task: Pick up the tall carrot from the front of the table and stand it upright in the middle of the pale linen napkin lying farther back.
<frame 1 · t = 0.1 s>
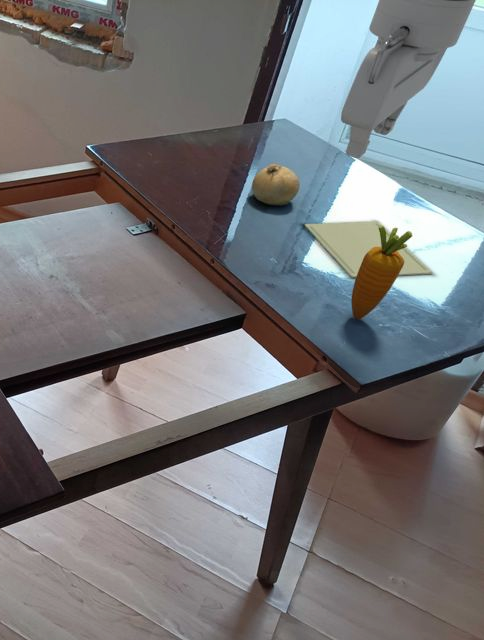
hand: (368, 143, 82), 26 cm above the table, tool pointing down, fingers open, 8 cm apart
onion: (270, 201, 125), on the table
carrot: (355, 320, 99), on the table
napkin: (365, 248, 114), on the table
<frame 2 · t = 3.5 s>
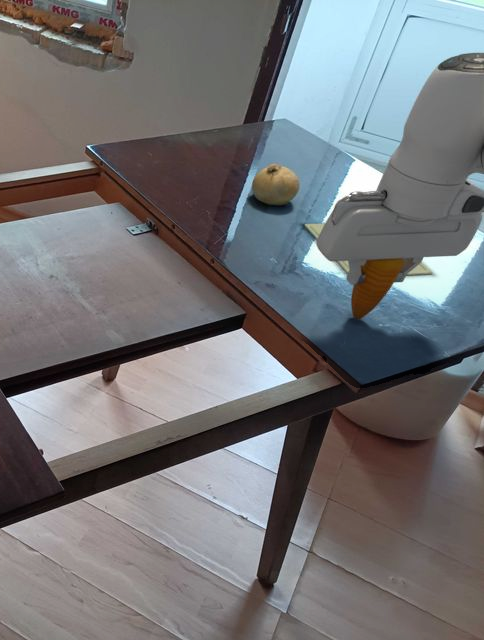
hand: (374, 281, 95), 7 cm above the table, tool pointing down, fingers closed on carrot, 5 cm apart
carrot: (355, 320, 99), on the table, touching gripper
everything else where it was.
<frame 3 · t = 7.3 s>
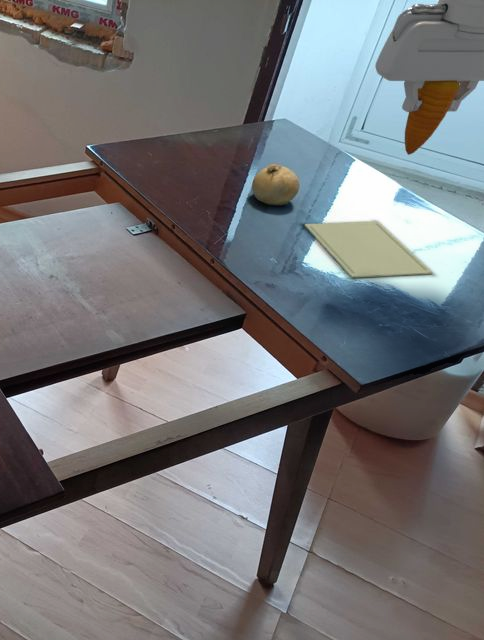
hand: (428, 110, 97), 24 cm above the table, tool pointing down, fingers closed on carrot, 5 cm apart
carrot: (408, 155, 102), point 17 cm above the table, touching gripper
everything else where it was.
when the fingers open (7 cm above the table, at t = 11.5 s): carrot stays where it is, resting on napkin.
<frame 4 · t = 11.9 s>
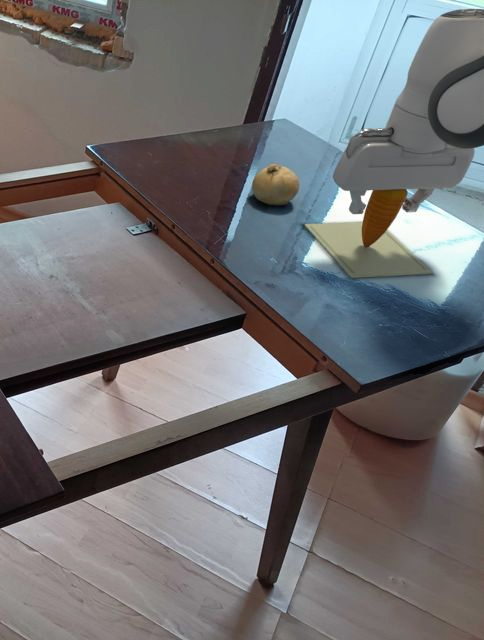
hand: (381, 211, 110), 7 cm above the table, tool pointing down, fingers open, 8 cm apart
carrot: (365, 248, 114), resting on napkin
everything else where it was.
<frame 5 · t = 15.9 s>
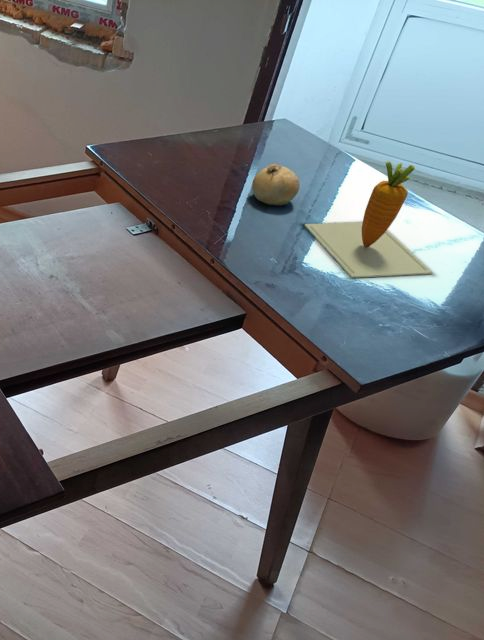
nothing on the table moved.
at the end: carrot inside the target area on the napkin (0.0 cm from its centre), point 0.1 cm above the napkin's base; carrot tilted 0°; the gripper is holding nothing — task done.
